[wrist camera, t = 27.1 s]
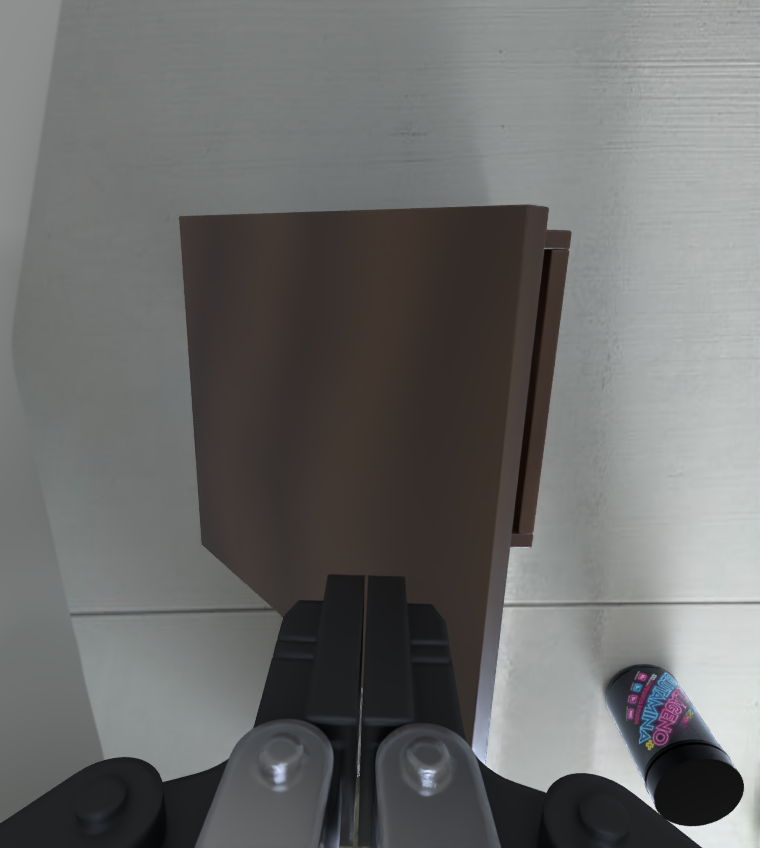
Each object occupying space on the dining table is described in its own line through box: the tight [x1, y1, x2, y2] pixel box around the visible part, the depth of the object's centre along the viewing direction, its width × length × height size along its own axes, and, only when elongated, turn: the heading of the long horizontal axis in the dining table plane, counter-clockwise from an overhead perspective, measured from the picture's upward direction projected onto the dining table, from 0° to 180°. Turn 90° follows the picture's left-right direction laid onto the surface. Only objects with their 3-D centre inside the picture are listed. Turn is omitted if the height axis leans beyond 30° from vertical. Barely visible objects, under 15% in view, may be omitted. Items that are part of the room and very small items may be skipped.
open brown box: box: [510, 230, 571, 548], centre depth 35 cm, size 17×16×17 cm
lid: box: [179, 205, 549, 765], centre depth 20 cm, size 17×16×1 cm
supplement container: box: [606, 664, 744, 826], centre depth 48 cm, size 7×7×10 cm
